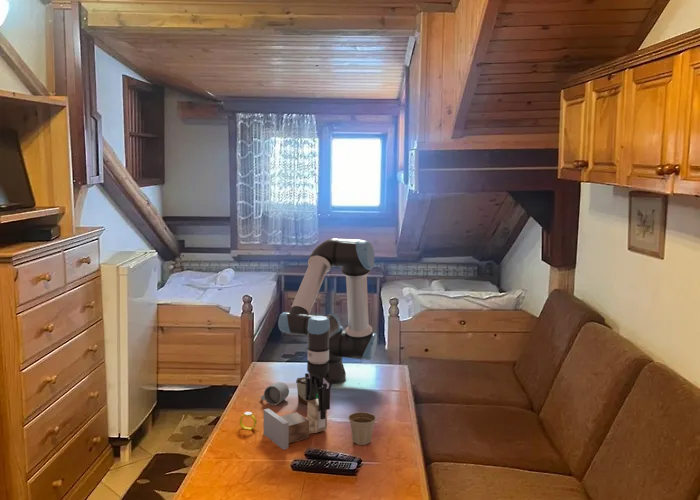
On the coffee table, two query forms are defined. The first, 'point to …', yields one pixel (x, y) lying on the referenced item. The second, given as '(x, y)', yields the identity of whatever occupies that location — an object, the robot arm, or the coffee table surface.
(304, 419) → the block
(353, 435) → the flower pot
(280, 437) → the wall
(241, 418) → the watch
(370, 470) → the coffee table surface
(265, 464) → the coffee table surface
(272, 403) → the ceramic mug
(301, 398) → the half-round slice
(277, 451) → the coffee table surface
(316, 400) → the cream l-shaped piece
